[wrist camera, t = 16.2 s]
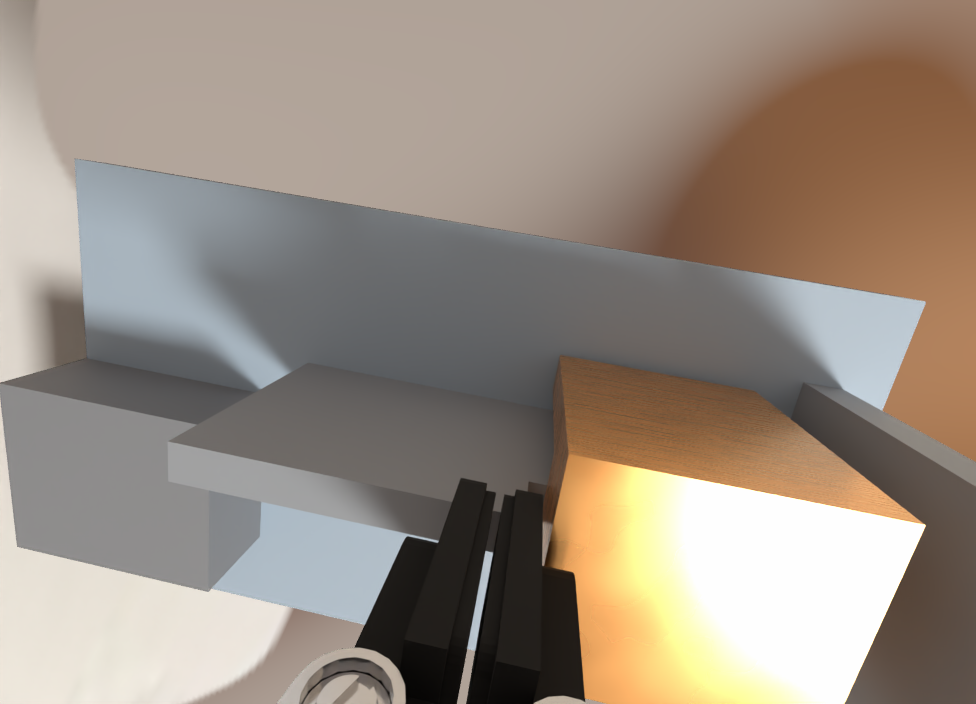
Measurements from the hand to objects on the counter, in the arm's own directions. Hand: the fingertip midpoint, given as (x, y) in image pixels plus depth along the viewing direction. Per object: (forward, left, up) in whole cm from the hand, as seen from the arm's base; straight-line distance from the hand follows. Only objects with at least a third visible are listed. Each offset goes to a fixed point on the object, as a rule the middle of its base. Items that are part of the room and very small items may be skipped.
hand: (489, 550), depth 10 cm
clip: (0, -4, -7) cm, 8 cm away
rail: (-2, +2, -8) cm, 9 cm away
